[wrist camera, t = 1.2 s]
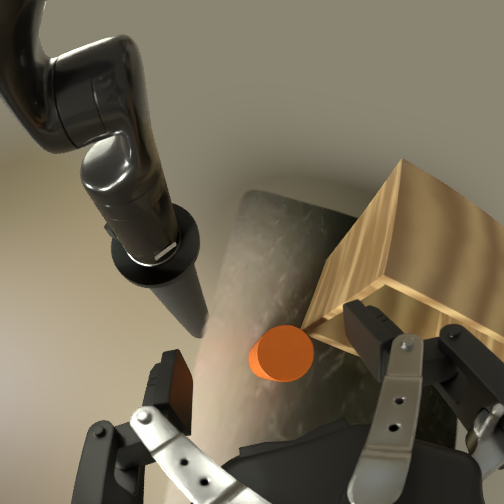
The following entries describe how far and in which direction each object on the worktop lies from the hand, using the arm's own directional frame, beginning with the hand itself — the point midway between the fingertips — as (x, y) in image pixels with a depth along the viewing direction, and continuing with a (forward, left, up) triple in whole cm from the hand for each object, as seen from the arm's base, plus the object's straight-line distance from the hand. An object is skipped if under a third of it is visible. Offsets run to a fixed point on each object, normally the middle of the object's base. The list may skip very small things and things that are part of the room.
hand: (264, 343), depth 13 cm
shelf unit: (+16, +13, -25) cm, 32 cm away
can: (+3, +2, -25) cm, 25 cm away
